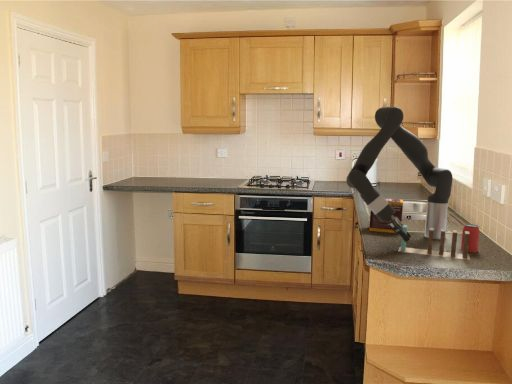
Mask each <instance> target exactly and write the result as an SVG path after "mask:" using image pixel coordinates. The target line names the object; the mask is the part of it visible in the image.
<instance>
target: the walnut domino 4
mask: <svg viewBox="0 0 512 384" xmlns="http://www.w3.org/2000/svg"><path fill="white" fill-rule="evenodd" d="M469 235H470V233H469V231H465V234H464V245H463V250H462V254H463V258H467V256H468V255H469V252H468V246H469Z"/></svg>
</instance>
